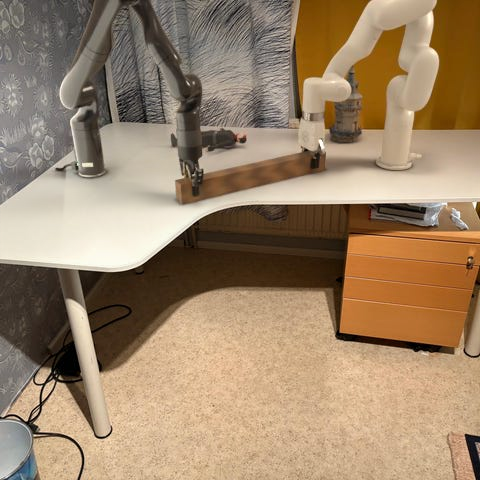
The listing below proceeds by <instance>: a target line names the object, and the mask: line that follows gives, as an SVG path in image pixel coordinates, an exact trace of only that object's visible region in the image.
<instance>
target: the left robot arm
mask: <svg viewBox="0 0 480 480" xmlns="http://www.w3.org/2000/svg"><path fill="white" fill-rule="evenodd" d="M127 7H130V8H131V9H132V10H133V12H134V13H135V14H136V16H137V18H138V20H139V23H140V26H141V29H142V34H143V40H144V43H145V47H146V50H147V52H148V54H149V55H150V57H151V58H152V60H153V62H154V63H155V65H156V66H157V68H158V69H159V70H160V72H161V76H162V78H163V81H164V83H165V86H166V89H167V91H168V93H169V94H170V96H171V97H172V98H173V99H174V100H175V101H177V102H179V103H180V105H179V108H178V109H177V110H176V112H175V119H176V120H175V121H176V129H177V133H176V138H177V146H176V147H177V156H178V162H179V168H180V173H181V176H182V177H183V178H187V177H189V179H191V183H192V195H193V196H194V197H196V196H199V195H200V191H199V185H203V175H204V174H205V170H204V168H200V163H199V160H200V159H201V158H202V157H203V145H202V135H201V132H202V130H201V117H200V113H201V106H202V99H203V84H202V81H201V79H200V77H199V76H198V75H197V74H195V73H193V72H187V73H185V74H184V72H183V70H182V68H181V65H182V62H183V59H182V57H181V55H180V54H179V52H178V50H177V48H176V47H175V45H174V44H173V43H172V41H171V39H170V38H169V37H168V35H167V33H166V31H165V29H164V28H163V25H162V24H161V21H160V20H159V17H158V15H157V13H156V10H155V8H154V6H153V5H152V2H151V0H94V1H93V6H92V9H91V13H90V15H89V18H88V21H87V23H86V27H85V30H84V31H83V34H82V36H81V38H80V42H79V46H78V48H77V51H76V53H75V56H74V58H73V60H72V63H71V65H70V67H69V69H68V72H67V73H66V74H65V77H64V79H63V80H62V82H61V86H60V88H59V99H60V102H61V104H62V105H63V107H64V108H66V109H69V110H77V112H76V113H75V114H74V115H73V116H72V117H71V119H70V120H69V121H70V123H69V124H70V128H71V134H72V139H73V145H74V147H73V148H72V151H73V157H74V161H71V162H70V163H67V164H65V165H64V166H63V167H54V168H55V171H60V172H61V171H64V170H66V168H68V167H71V170H73V171H76V174H78V175H79V177H82V178H87V179H88V178H90V179H91V178H97V177H100V176H103V175H105V174H106V172H107V171H106V165H105V158H104V151H103V145H102V137H101V130H100V124H99V120H100V109H99V108H100V107H99V98H98V97H99V96H98V90H97V87H96V85H95V83H94V81H93V80H92V77H94V76H95V75H96V74H97V73H98V72H99V71H100V70H102V68H103V67H104V66H105V65H106V63H107V62H108V60H109V58H110V56H111V54H112V51H113V48H114V45H115V35H114V31H113V26H114V22H115V20H116V18H117V16H118V15H119V13H120V11H121V10H122V9H124V8H127Z"/></svg>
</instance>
